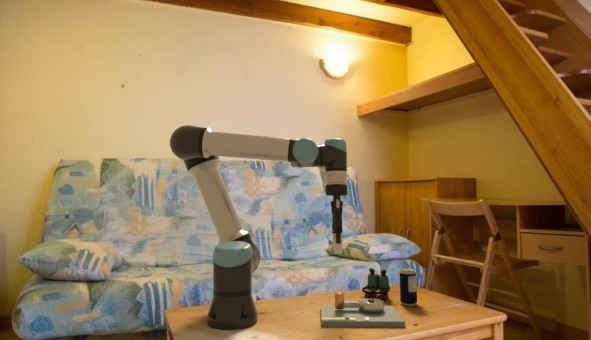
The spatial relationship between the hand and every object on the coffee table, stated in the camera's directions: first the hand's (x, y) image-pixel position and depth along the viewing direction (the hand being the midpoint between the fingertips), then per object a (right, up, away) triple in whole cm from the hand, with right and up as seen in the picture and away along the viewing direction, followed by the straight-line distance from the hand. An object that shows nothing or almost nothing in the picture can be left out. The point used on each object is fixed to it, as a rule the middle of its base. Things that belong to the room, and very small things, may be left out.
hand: (337, 251), depth 129 cm
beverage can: (+25, -20, +4) cm, 32 cm away
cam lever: (+6, -17, -8) cm, 19 cm away
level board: (+6, -18, -11) cm, 22 cm away
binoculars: (+16, -20, +12) cm, 28 cm away
